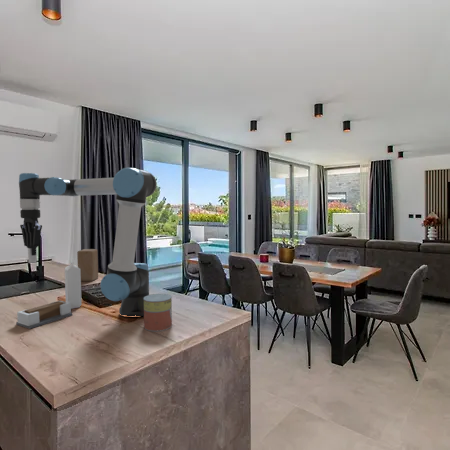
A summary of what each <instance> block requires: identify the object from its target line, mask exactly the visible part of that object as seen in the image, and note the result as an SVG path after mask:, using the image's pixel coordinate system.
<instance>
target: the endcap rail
mask: <svg viewBox="0 0 450 450" xmlns="http://www.w3.org/2000/svg"><path fill="white" fill-rule="evenodd" d="M57 301H59V302H63V304H62V305H60V314H59V315H56V316H53V317H50V318H46V319H43V320H40V321H39V312H34V313H30V314H28V313H25V310H28V309H27V308H26V309H24V310H20V311H19V310H18V311H17V312H16V315H17V321H16V323H15V324H16V325H17V326H20V327H22V328H26V329H30V330H31V329H34V328H38V327H40V326H43V325H46V324H50V323H53V322H56V321H58V320H59V321H60V320H62V319H66V318H69V317H71V316H73V312H72V309H71V303H69V302H66V301H64V300H56V301H53V302H51V303H54V302H57Z"/></svg>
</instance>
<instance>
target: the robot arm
mask: <svg viewBox="0 0 450 450" xmlns="http://www.w3.org/2000/svg"><path fill="white" fill-rule="evenodd" d="M18 188H19V207H20V211H19V212H20V218H21V219H23V224H20V229H21V234H22V239H23V245H24V247H26V248H27V261H28V264H33V263H37V248H39V247H40V244H41V243H40V242H41V236H42V234H41V233H42V229H43V225H42V224H39V218H41V209H40V208H41V201H40V197H41V196H60V197H61V196H62V197H63V196H65V197H77V196H79V197H80V196H98V195H99V196H103V195H104V196H105V195H106V196H107V195H109V196H110V195H116V197H115V199H116V202H117V203H118V205H119V206H118V213H117V222H116V223H117V224H116V228H115V229H116V230H115V237H114V238H115V239H114V244H113V245H114V246H113V253H112V262H110V263H108V265H107V271H106V274H105V275H104V276H103V277H102V279H101V281H100V287H99V288H100V290H101V293H102V294H103V295H104V297H105V298H106V299H108V300H110V301H112V302H119V301H121V304H120V307H119V310H118V314H119V313H120V314H121V315H127V316H135V315H136V316H143V317H142V318H144V299H143V298H144V297H145V296H148V295H150V270H149V265H148V263H146V262H145V263H144V262H142V263H141V262H135V258H136V250H137V242H138V241H137V240H138V234H139V226H140V219H141V213H142V212H141V211H142V207H143V206H145V205H146V201H147V198H149V197H150V196H152V195H153V194H154V193H155V192H156V189H157V179H156V177H155V176H154V175H153V174H152V173H151V172H149V171H147V170H143V169H139V168H135V167H123V168H121V169H120V170H119V171H118V172H116V173H115V175H114V177H102V178H101V177H100V178H98V177H97V178H80V179H79V178H78V179H64V178H62V177H57V176H56V177H55V176H51V177H39V174H38V173H33V172H31V173H29V172H22V173H20V174H19V176H18Z"/></svg>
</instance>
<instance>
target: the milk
mask: <svg viewBox="0 0 450 450" xmlns="http://www.w3.org/2000/svg"><path fill="white" fill-rule="evenodd" d="M64 289H65V290H64V291H65V292H64V293H65V302H69V303H71V310H72V309H77V308H81V307H80V306H81V305H83V304H82V281H81V272H80V268H78V266H76V265H75V263H74V262H73V261H70V264H69V265H68V266H66V267H64Z"/></svg>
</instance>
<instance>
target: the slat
mask: <svg viewBox="0 0 450 450" xmlns="http://www.w3.org/2000/svg"><path fill="white" fill-rule="evenodd" d="M56 301H57V302H56ZM56 301H53V302H54V303H52V302H50V303H47V304H43V305H40V306H36V307H33V308H29V309H28V310H27V309H24V310H25V313H28V314H30V313H34V312H39V321H40V320H43V319H46V318H50V317H53V316H56V315H59V314H60V305H62V304H63V302H59V301H60V300H56Z"/></svg>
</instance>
